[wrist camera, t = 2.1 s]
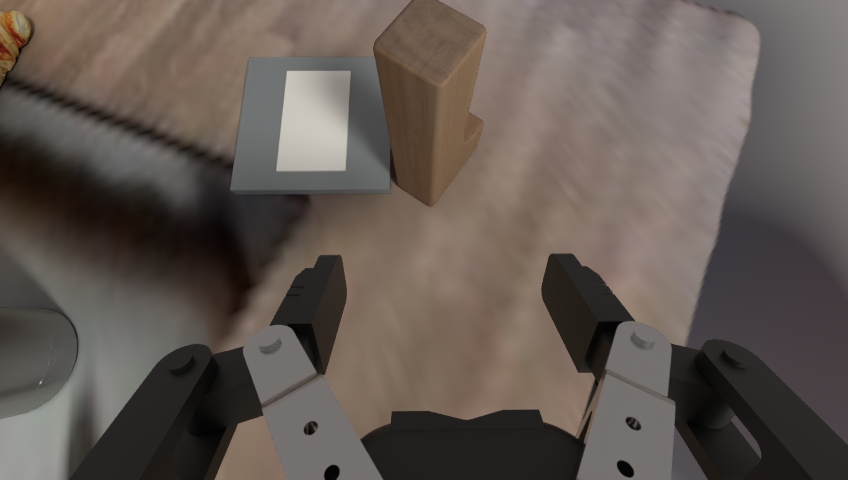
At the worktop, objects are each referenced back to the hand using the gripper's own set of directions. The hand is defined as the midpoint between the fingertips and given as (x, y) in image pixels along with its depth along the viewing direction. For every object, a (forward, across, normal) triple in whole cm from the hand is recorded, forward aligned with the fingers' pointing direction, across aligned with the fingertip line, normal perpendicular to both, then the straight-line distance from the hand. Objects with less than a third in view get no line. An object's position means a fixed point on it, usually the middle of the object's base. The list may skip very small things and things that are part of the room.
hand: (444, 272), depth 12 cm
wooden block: (+24, -1, +4) cm, 24 cm away
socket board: (+27, +12, 0) cm, 29 cm away
